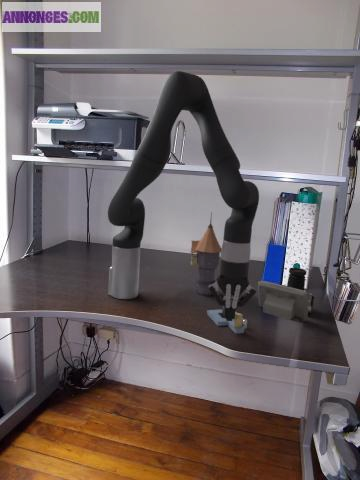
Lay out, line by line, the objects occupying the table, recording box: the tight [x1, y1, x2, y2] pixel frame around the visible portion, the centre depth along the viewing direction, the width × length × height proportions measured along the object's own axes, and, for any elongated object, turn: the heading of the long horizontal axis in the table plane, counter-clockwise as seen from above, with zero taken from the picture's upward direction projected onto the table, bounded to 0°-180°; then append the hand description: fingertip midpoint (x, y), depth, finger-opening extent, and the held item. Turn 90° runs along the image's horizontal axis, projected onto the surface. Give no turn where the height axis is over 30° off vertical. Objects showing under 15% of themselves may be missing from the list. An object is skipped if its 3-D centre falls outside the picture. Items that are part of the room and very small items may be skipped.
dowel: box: [242, 318, 248, 330], centre depth 103 cm, size 1×1×3 cm
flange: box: [206, 309, 245, 335], centre depth 106 cm, size 14×8×5 cm, turn 17°
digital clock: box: [257, 280, 309, 322], centre depth 116 cm, size 16×9×11 cm, turn 43°
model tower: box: [190, 212, 222, 297], centre depth 127 cm, size 10×11×30 cm
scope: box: [286, 267, 315, 318], centre depth 122 cm, size 8×14×10 cm
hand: (228, 319), depth 100 cm, fingers closed
